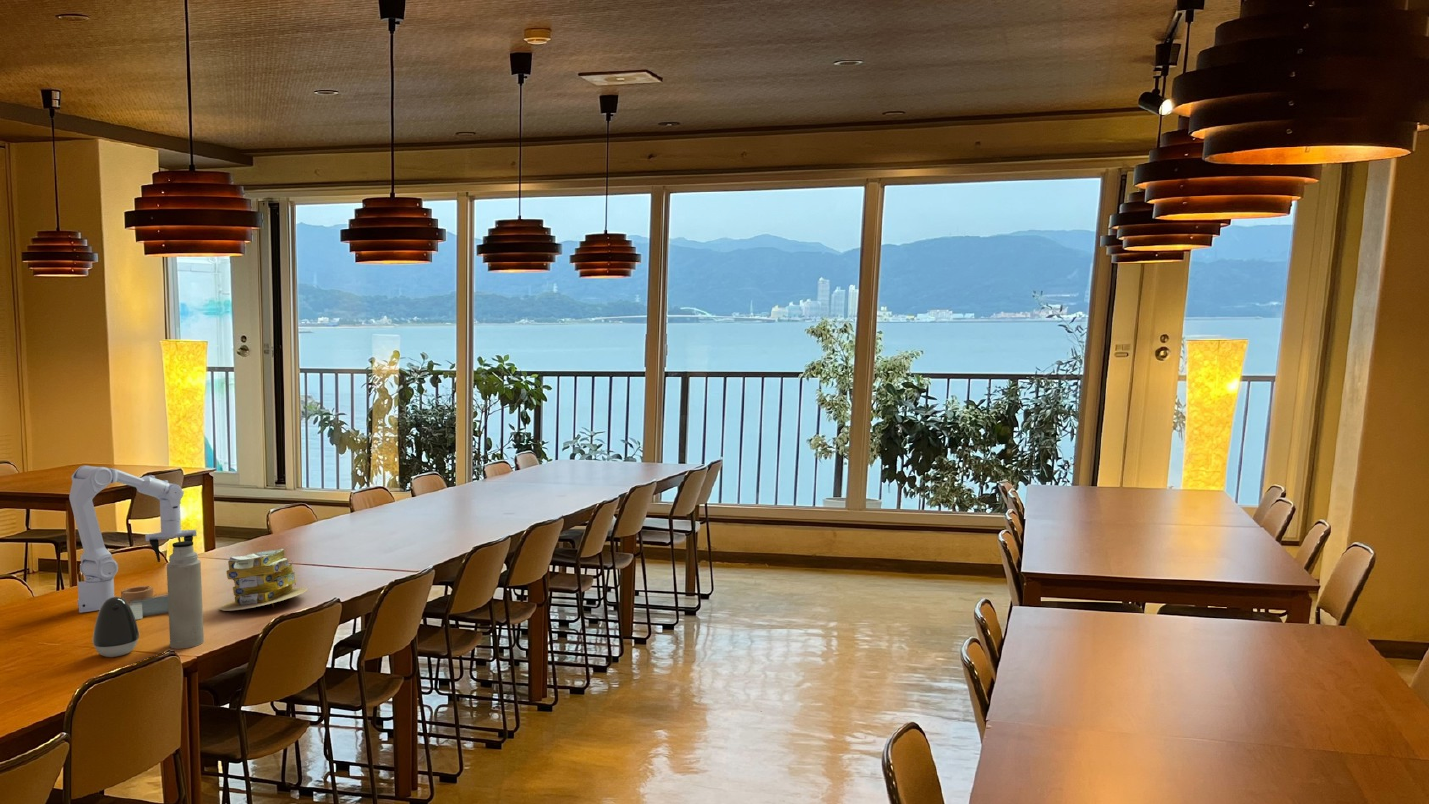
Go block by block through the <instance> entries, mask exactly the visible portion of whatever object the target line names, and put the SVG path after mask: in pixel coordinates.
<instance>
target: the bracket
mask: <svg viewBox="0 0 1429 804" xmlns="http://www.w3.org/2000/svg"><path fill="white" fill-rule="evenodd" d="M161 596H168V592H167V593H162V594H157V595H154V587H153V586H149V585H139V586H133V587H128V588H124V589H122V590H120V597H121V598H123V599H124V600H126V602H127V603H128V604H129V606H130V600H138V599H146V598H153V597H161Z"/></svg>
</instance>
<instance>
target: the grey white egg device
mask: <svg viewBox="0 0 1429 804" xmlns="http://www.w3.org/2000/svg"><path fill="white" fill-rule="evenodd" d="M139 638H140V631H139V627H138V623H137V620H136V619H135V616H134V614H133V611H132V609H131V607H130V606H129V604H128V603H127V602H126V600H124V599H123V598H121V596H114V597H112V598H109V599H107V600H106V601H105V602H104V603H103V605H102V607H101V608H100V610H98V613H97V616H96V619H95V624H94V628H93V635H92V644H93V646H94V648H95V650H96V652H97V653H98V654H99V655H101V656H102V657H107V658H114V657H115V658H116V657H121V656H125V655H127V654H129V653H130V652H132V651H133V650H134V649H135V647H136V646H137V644H138V640H139Z"/></svg>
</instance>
